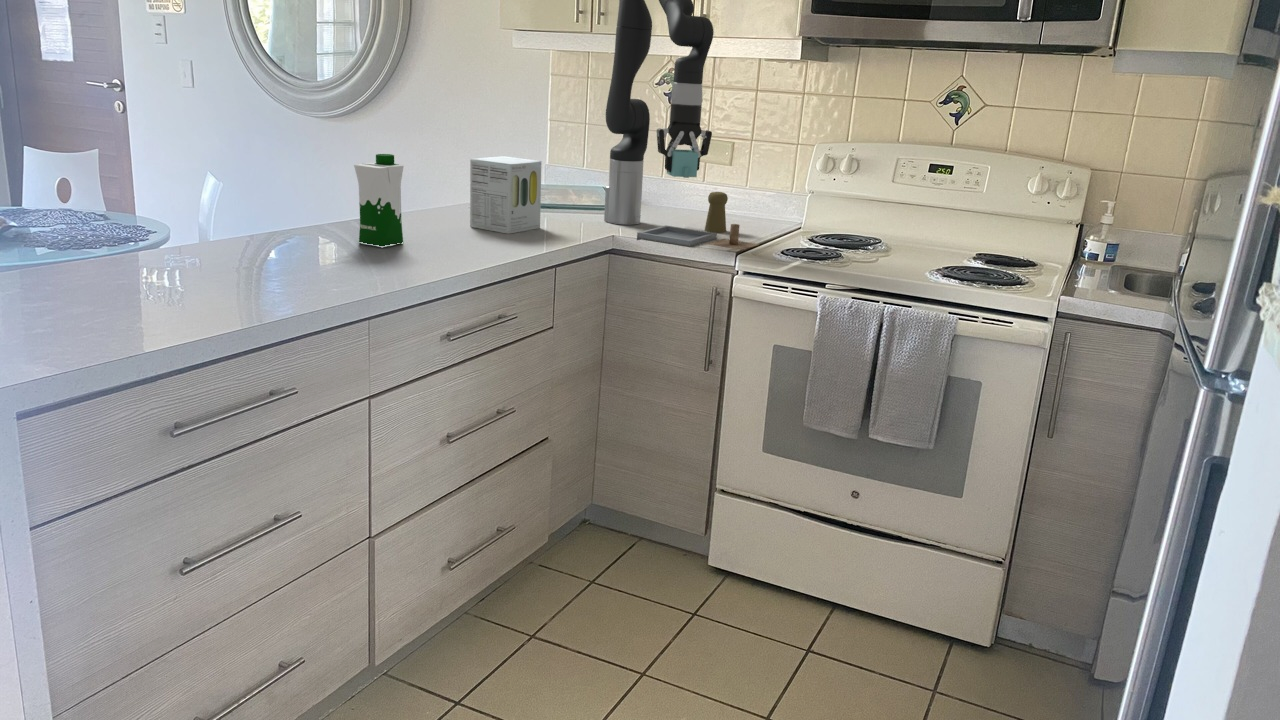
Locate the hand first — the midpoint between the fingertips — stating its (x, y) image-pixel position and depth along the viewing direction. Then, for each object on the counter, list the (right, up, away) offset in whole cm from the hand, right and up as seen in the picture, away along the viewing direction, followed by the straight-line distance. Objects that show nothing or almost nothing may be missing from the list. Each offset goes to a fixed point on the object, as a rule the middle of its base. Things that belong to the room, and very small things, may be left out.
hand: (681, 171), depth 234 cm
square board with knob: (+13, -18, +2) cm, 23 cm away
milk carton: (-70, -21, -19) cm, 75 cm away
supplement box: (-45, -13, +10) cm, 48 cm away
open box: (0, -1, 0) cm, 1 cm away
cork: (+10, -13, +19) cm, 25 cm away
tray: (-1, -16, +5) cm, 17 cm away
